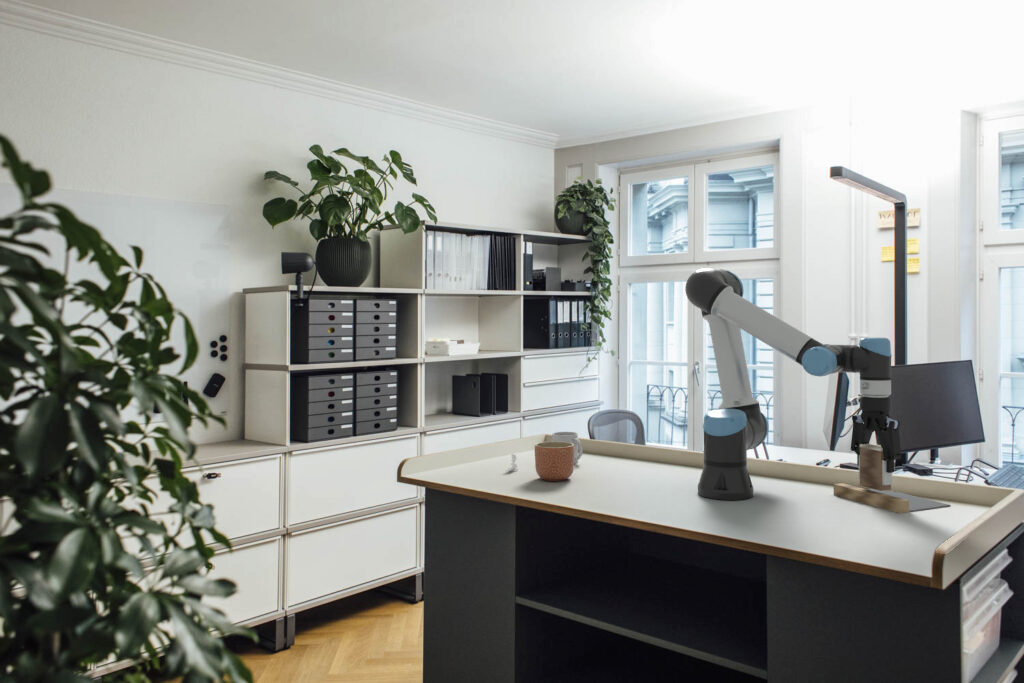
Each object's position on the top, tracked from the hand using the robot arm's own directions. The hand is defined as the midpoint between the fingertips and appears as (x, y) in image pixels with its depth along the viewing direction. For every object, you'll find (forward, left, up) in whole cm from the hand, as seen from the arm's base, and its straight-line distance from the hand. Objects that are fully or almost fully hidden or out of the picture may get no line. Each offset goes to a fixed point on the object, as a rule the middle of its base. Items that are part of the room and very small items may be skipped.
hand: (875, 481), depth 202 cm
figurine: (-81, -72, -6) cm, 108 cm away
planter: (-63, -65, -6) cm, 91 cm away
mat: (0, +7, -6) cm, 9 cm away
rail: (0, -2, -6) cm, 6 cm away
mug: (-86, -50, -6) cm, 100 cm away
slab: (0, 0, -2) cm, 2 cm away
